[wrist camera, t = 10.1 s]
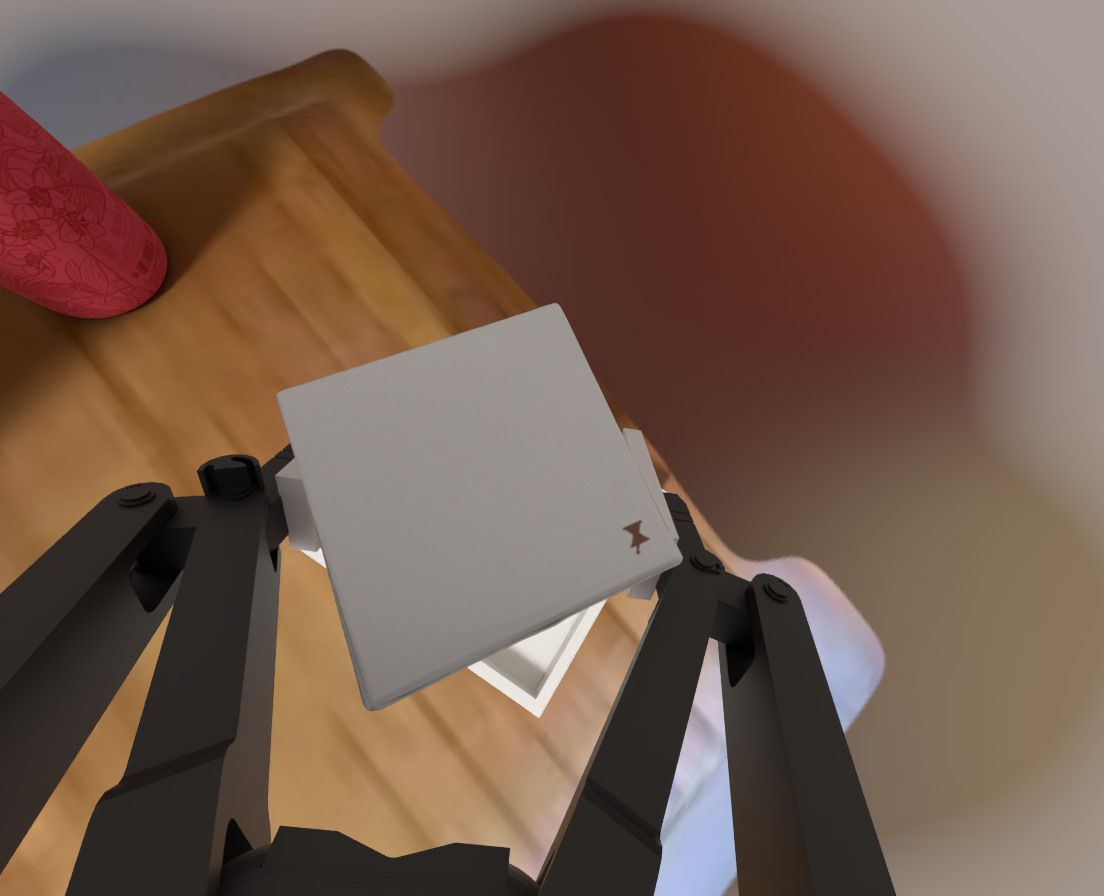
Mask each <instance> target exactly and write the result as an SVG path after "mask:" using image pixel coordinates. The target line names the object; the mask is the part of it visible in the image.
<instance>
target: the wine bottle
mask: <svg viewBox="0 0 1104 896" xmlns="http://www.w3.org/2000/svg"><path fill="white" fill-rule="evenodd" d="M167 263H168V262H167V255H166V251H165V247H164V245H163V243H162V241H161V240H160V238H159V237H158V236H157V234H156V233H155V232H154V231H153V230H152V229H151V227H150V226H149V225H148V224H147V223H146V222H145V221H144V220H143V219H142V218H141V217H140V216H139V215H137V214H136V213H135V212H134V211H133V210H132V209H131V208H130V207H129V206H128V205H127V204H126V203H125V202H124V201H123V200H122V199H121V198H120V197H118V196H117V195H116V194H115V193H114V192H113V191H112V190H111V189H110V188H109V187H108V186H107V185H106V184H104V183H103V182H102V181H101V180H100V179H99V178H98V177H97V176H96V175H95V174H94V173H93V172H91V171H90V170H89V169H88V168H87V167H86V166H85V165H84V164H83V163H82V162H81V161H79V160H78V159H77V158H76V157H75V156H74V155H73V154H72V153H71V152H70V151H68V150H67V149H66V148H65V147H64V146H63V145H62V144H61V143H60V142H58V141H57V140H56V139H55V138H54V137H53V136H52V135H51V134H49V133H48V132H47V131H46V130H45V129H44V128H43V127H42V126H40V125H39V124H38V123H37V122H36V121H35V120H34V119H32V118H31V117H30V116H29V115H28V114H27V113H26V112H24V111H23V110H22V109H21V108H20V107H19V106H17V105H16V104H15V103H14V102H13V101H12V100H10V99H9V98H8V97H7V96H6V95H4V94H3V93H2V92H1V91H0V286H2V287H4V288H6V289H8V290H10V291H12V292H14V293H16V294H18V295H20V296H22V297H25V298H27V299H29V300H31V301H33V302H35V303H38V304H40V305H42V306H44V307H47V308H49V309H51V310H54V311H56V312H59V313H62V314H65V315H69V316H73V317H78V318H106V317H112V316H116V315H120V314H123V313H126V312H128V311H130V310H133V309H135V308H136V307H138V306H140V305H141V304H143V303H144V302H146V301H147V300H148V299H149V298H150V297H152V296H153V294H154V293H155V292H156V291H157V290H158V289H159V287H160V286H161V284H162V282H163V280H164V278H165V275H166V271H167Z"/></svg>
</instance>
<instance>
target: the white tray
mask: <svg viewBox="0 0 1104 896" xmlns="http://www.w3.org/2000/svg"><path fill="white" fill-rule="evenodd" d="M662 492H666V491H664V490H663V489H662ZM666 493H667V492H666ZM301 551H302V552H304V553H305V554H307V555H308V556H310V557H311V558H312V559H314V560H315V561H317V562H318V563H320V564H321V565H322V566H324V567H325V568H326V564H325V560H324V557H323V553H322V549H321V547H320V548H319V550H318V551H317V552H312V551H305V550H301ZM606 600H607V599H606ZM606 600H604V601H601V602H599V603H597V604H595V605H593V606H591V607H589V608H587V609H585V610H583V611H581V612H579V613H577V614H575V615H573V616H571V617H569V618H567V619H566V620H564V621H562V622H561V623H559V624H558V625H556V626H554V627H552V628H550V629H547V630H545V631H543V632H541V633H539V634H536V635H534V636H532V637H529V638H527V639H524V640H522V641H520V642H518V643H516V644H514V645H512V646H510V647H508V648H506V649H504V650H502V651H500V652H498V653H496V654H494V655H491V656H489V657H487V658H485V659H483V660H481V661H479V662H477V663H475V664H473V665H471V666H469V667H467V668H469V669H470V670H472V671H473V672H474V673H476V674H477V675H479V676H480V677H482V678H483V679H484V680H486V681H487V682H489V683H490V684H492V685H493V686H494V687H496V688H497V689H499V690H500V691H501V692H503V693H504V694H506V695H507V696H509V697H510V698H511V699H513V700H514V701H516V702H517V703H519V704H520V705H521V706H523V707H524V708H526V709H527V710H528V711H530V712H531V713H533V714H534V715H536V716H537V717H538V718H539V717H540V716H541V714H542V712H543V710H544V709H545V707H546V705H547V703H548V702H549V700H550V698H551V696H552V695H553V693H554V691H555V689H556V688H557V686H558V684H559V682H560V681H561V679H562V677H563V675H564V674H565V672H566V670H567V668H568V667H569V665H570V663H571V661H572V660H573V658H574V656H575V654H576V653H577V651H578V649H579V647H580V646H581V644H582V642H583V640H584V639H585V637H586V635H587V633H588V631H589V630H590V628H591V626H592V624H593V623H594V621H595V619H596V617H597V616H598V614H599V612H600V610H601V609H602V607H603V605H604V603H605V602H606Z"/></svg>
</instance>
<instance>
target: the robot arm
mask: <svg viewBox="0 0 1104 896" xmlns="http://www.w3.org/2000/svg"><path fill="white" fill-rule="evenodd" d="M622 435H623V437H624V440H625V442H626V444H627V446H628V448H629V451H630V453H631V455H632V457H633V459H634V461H635V463H636V465H637V467H638V469H639V471H640V473H641V475H642V477H643V479H644V481H645V483H646V485H647V487H648V489H649V491H650V493H651V495H652V497H653V499H654V501H655V503H656V505H657V507H658V509H659V511H660V513H661V515H662V517H663V519H664V521H665V523H666V525H667V527H668V529H669V531H670V533H671V535H672V537H673V539H674V541H675V543H676V545H677V547H678V548H679V550H680V552H681V554H682V556H683V559H682V562H681V563H680V564H679V565H677V566H675V567H673V568H671V569H668V570H666V571H664V572H662V573H660V574H657V575H655V576H653V577H651V578H649V579H647V580H645V581H643V582H641V583H639V584H637V585H635V586H633V587H631V588H629V589H627V590H626V591H627V597H632V598H639V599H646V600H651V598H652V596H653V593H654V591H655V589H656V590H657V594H658V598H659V600H658V602H657V604H656V606H655V609H654V611H653V613H652V615H651V617H650V619H649V621H648V625H647V627H646V630H645V632H644V634H643V636H642V639H641V641H640V643H639V646H638V648H637V650H636V653H635V655H634V657H633V660H632V662H631V664H630V667H629V669H628V671H627V674H626V676H625V678H624V680H623V683H622V685H621V687H620V690H619V692H618V694H617V697H616V699H615V701H614V704H613V706H612V708H611V711H610V713H609V715H608V718H607V720H606V722H605V724H604V727H603V729H602V731H601V734H600V736H599V738H598V741H597V743H596V745H595V748H594V750H593V752H592V755H591V757H590V759H589V761H588V764H587V766H586V768H585V771H584V773H583V775H582V778H581V780H580V782H579V785H578V787H577V789H576V792H575V794H574V796H573V799H572V801H571V803H570V805H569V808H568V810H567V812H566V815H565V817H564V819H563V822H562V824H561V826H560V829H559V831H558V833H557V835H556V838H555V840H554V842H553V844H552V846H551V848H550V851H549V853H548V855H547V857H546V859H545V862H544V864H543V866H542V868H541V871H540V873H539V875H538V877H537V880H536V882H535V881H534V880H533V879H532V878H531V877H530V876H528V875H527V874H526V873H524V872H523V871H522V870H520V869H519V868H517V867H515V866H513V865H511V864H509V854H510V848H505V847H495V846H484V845H474V844H464V843H452V844H448V845H444V846H440V847H437V848H433V849H429V850H425V851H421V852H417V853H413V854H409V855H405V856H401V857H397V858H390V857H387V856H385V855H383V854H381V853H379V852H377V851H375V850H373V849H371V848H369V847H367V846H366V845H364V844H362V843H360V842H358V841H356V840H354V839H352V838H350V837H348V836H346V835H344V834H342V833H340V832H338V831H330V830H319V829H309V828H299V827H288V826H280V827H279V829H278V832H277V834H276V836H275V838H274V840H273V842H272V843H271V833H270V821H269V813H268V783H269V765H270V747H271V729H272V711H273V693H274V675H275V657H276V639H277V621H278V603H279V585H280V567H281V551H280V547H279V544H280V543H281V542H282V541H283V540H284V539H285V537H286V536H287V535H288V537H289V541H290V546H291V549H298V550H305V551H312V552H317V551H318V550H319V548H320V547H321V545H320V542H319V538H318V534H317V530H316V527H315V523H314V519H313V515H312V512H311V509H310V505H309V502H308V499H307V496H306V492H305V489H304V485H303V482H302V479H301V476H300V472H299V469H298V466H297V463H296V459H295V456H294V453H293V449H292V446H291V443H290V444H289V445H287V446H286V447H285V448H284V449H283V451H280V452H279V453H278V454H277V455H275V457H274V458H272V459H271V460H269V461H268V462H267V463H266V464H265V465H263V466H262V467H261V468H260V465H259V461H258V460H257V459H256V458H254V457H253V456H248V455H227V456H221V457H218V458H215V459H212V460H209V461H208V462H206V463H204V464H203V465H201V466H200V468H199V469H198V470H197V473H198V476H199V479H200V482H201V485H202V488H203V491H204V494H205V496H188V497H174V496H173V493H172V491H171V488H170V486H168V485H165V484H163V483H155V482H149V483H139V484H134V485H130V486H126V487H124V488H121V489H119V490H116V491H114V492H112V493H111V494H109V495H108V496H106V497H105V498H104V499H103V500H101V501H100V502H99V503H98V504H97V505H96V506H95V507H94V508H93V509H92V510H91V511H90V512H88V513H87V514H86V515H85V516H84V517H83V518H82V519H81V520H80V521H79V522H78V523H77V524H75V525H74V526H73V527H72V528H71V529H70V530H69V531H68V532H67V533H66V534H65V535H64V536H62V537H61V538H60V539H59V540H58V541H57V542H56V543H55V544H54V545H53V546H52V547H51V548H50V549H48V550H47V551H46V552H45V553H44V554H43V555H42V556H41V557H40V558H39V559H38V560H37V561H35V562H34V563H33V564H32V565H31V566H30V567H29V568H28V569H27V570H26V571H25V572H24V573H22V574H21V575H20V576H19V577H18V578H17V579H16V580H15V581H14V582H13V583H12V584H11V585H9V586H8V587H7V588H6V589H5V590H4V591H3V592H2V593H1V594H0V875H1V873H2V871H3V870H4V868H5V867H6V865H7V864H8V862H9V860H10V859H11V857H12V856H13V854H14V853H15V851H16V849H17V848H18V846H19V845H20V843H21V842H22V840H23V839H24V837H25V835H26V834H27V832H28V831H29V829H30V828H31V826H32V824H33V823H34V821H35V820H36V818H37V817H38V815H39V813H40V812H41V810H42V809H43V807H44V806H45V804H46V803H47V801H48V799H49V798H50V796H51V795H52V793H53V792H54V790H55V788H56V787H57V785H58V784H59V782H60V781H61V779H62V777H63V776H64V774H65V773H66V771H67V770H68V768H69V766H70V765H71V763H72V762H73V760H74V759H75V757H76V756H77V754H78V752H79V751H80V749H81V748H82V746H83V745H84V743H85V741H86V740H87V738H88V737H89V735H90V734H91V732H92V730H93V729H94V727H95V726H96V724H97V723H98V721H99V720H100V718H101V716H102V715H103V713H104V712H105V710H106V709H107V707H108V705H109V704H110V702H111V701H112V699H113V698H114V696H115V694H116V693H117V691H118V690H119V688H120V687H121V685H122V684H123V682H124V680H125V679H126V677H127V676H128V674H129V673H130V671H131V669H132V668H133V666H134V665H135V663H136V662H137V660H138V658H139V657H140V655H141V654H142V652H143V651H144V649H145V648H146V646H147V644H148V643H149V641H150V640H151V638H152V637H153V635H154V633H155V632H156V630H157V629H158V627H159V626H160V624H161V622H162V621H163V619H164V618H165V616H166V615H167V613H168V611H169V610H170V608H171V607H172V605H173V604H174V606H173V609H172V613H171V616H170V619H169V623H168V626H167V630H166V633H165V637H164V640H163V644H162V647H161V650H160V654H159V657H158V661H157V664H156V668H155V671H154V674H153V678H152V681H151V685H150V688H149V692H148V695H147V698H146V702H145V705H144V709H143V712H142V716H141V719H140V723H139V726H138V729H137V733H136V736H135V740H134V743H133V747H132V750H131V753H130V757H129V760H128V764H127V767H126V770H125V773H124V775H123V778H122V779H121V781H120V782H119V784H118V785H116V786H114V787H113V788H111V789H109V790H107V791H106V792H105V793H104V794H103V795H102V797H101V798H100V800H99V801H98V803H97V804H96V806H95V809H94V811H93V813H92V816H91V818H90V821H89V823H88V826H87V829H86V832H85V836H84V839H83V842H82V845H81V848H80V851H79V854H78V857H77V860H76V863H75V866H74V870H73V873H72V876H71V879H70V882H69V885H68V888H67V891H66V894H65V896H654V891H655V887H656V883H657V879H658V874H659V869H660V864H661V859H662V844H661V841H660V832H661V828H662V823H663V819H664V815H665V811H666V807H667V803H668V799H669V795H670V791H671V787H672V783H673V779H674V775H675V771H676V767H677V763H678V759H679V755H680V751H681V747H682V743H683V739H684V735H685V731H686V728H687V724H688V720H689V716H690V712H691V708H692V704H693V700H694V696H695V692H696V688H697V684H698V680H699V676H700V672H701V668H702V664H703V660H704V656H705V652H706V648H707V644H708V640H709V637H710V638H712V639H715V640H717V641H718V649H719V661H720V673H721V685H722V697H723V709H724V721H725V733H726V745H727V757H728V769H729V781H730V793H731V805H732V817H733V829H734V841H735V853H736V865H737V877H738V888H739V896H896V893H895V890H894V887H893V884H892V881H891V878H890V875H889V872H888V869H887V865H886V862H885V859H884V856H883V853H882V850H881V847H880V844H879V841H878V838H877V835H876V832H875V829H874V825H873V822H872V819H871V816H870V813H869V810H868V807H867V804H866V801H865V798H864V794H863V792H862V788H861V785H860V782H859V779H858V776H857V773H856V770H855V767H854V763H853V760H852V757H851V754H850V751H849V748H848V745H847V742H846V739H845V736H844V733H843V729H842V726H841V723H840V720H839V717H838V714H837V711H836V708H835V705H834V702H833V698H832V695H831V692H830V689H829V686H828V683H827V680H826V677H825V674H824V671H823V668H822V664H821V661H820V658H819V655H818V652H817V649H816V646H815V643H814V640H813V637H812V634H811V630H810V627H809V624H808V621H807V618H806V615H805V612H804V609H803V606H802V603H801V600H800V598H799V596H798V594H797V592H796V591H795V590H794V589H793V588H792V587H791V586H790V585H789V584H787V583H786V582H785V581H783V580H782V579H780V578H778V577H775V576H773V575H770V574H765V573H763V574H757V575H756V576H755V577H754V578H753V579H752V581H751V582H750V581H747V580H745V579H742V578H740V577H737V576H735V575H732V574H730V573H728V572H726V571H725V568H724V566H723V564H722V562H721V561H720V560H719V559H718V558H717V557H716V556H715V555H714V554H712V553H710V552H709V551H707V550H705V548H704V546H703V543H702V541H701V538H700V536H699V534H698V531H697V529H696V527H695V524H693V519H692V517H691V516H690V512H689V510H688V508H687V505H686V503H685V502H684V501H683V500H682V499H681V498H680V497H679V496H678V495H677V494H672V493H666V492H662V489H661V486H660V483H659V481H658V478H657V475H656V472H655V469H654V467H653V464H652V461H651V458H650V455H649V452H648V450H647V447H646V444H645V441H644V438H643V436H642V433H641V431H639V430H633V429H627V428H624V429H623V432H622Z"/></svg>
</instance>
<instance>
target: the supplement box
mask: <svg viewBox="0 0 1104 896" xmlns="http://www.w3.org/2000/svg"><path fill="white" fill-rule="evenodd" d="M276 398H277V401H278V404H279V406H280V410H281V413H282V416H283V420H284V423H285V427H286V430H287V433H288V436H289V440H290V443H291V446H292V449H293V453H294V456H295V459H296V463H297V466H298V469H299V472H300V476H301V479H302V482H303V485H304V489H305V492H306V496H307V499H308V502H309V505H310V509H311V512H312V515H313V519H314V523H315V527H316V530H317V534H318V538H319V542H320V545H321V549H322V553H323V557H324V560H325V564H326V568H327V571H328V575H329V578H330V582H331V586H332V590H333V593H334V597H335V601H336V604H337V608H338V612H339V616H340V620H341V623H342V627H343V631H344V635H345V638H346V642H347V645H348V649H349V652H350V656H351V660H352V663H353V667H354V671H355V675H356V678H357V682H358V686H359V690H360V694H361V698H362V702H363V704H364V706H365V708H366V709H367V710H370V711H374V710H379V709H383V708H385V707H388V706H390V705H392V704H394V703H396V702H398V701H399V700H402V699H404V698H406V697H408V696H410V695H412V694H414V693H417V692H419V691H421V690H423V689H425V688H427V687H429V686H431V685H432V684H434V683H436V682H438V681H440V680H442V679H444V678H446V677H448V676H451V675H453V674H455V673H457V672H459V671H461V670H463V669H465V668H467V667H469V666H471V665H473V664H475V663H477V662H479V661H481V660H483V659H485V658H487V657H489V656H491V655H494V654H496V653H498V652H500V651H502V650H504V649H506V648H508V647H510V646H512V645H514V644H516V643H518V642H520V641H522V640H524V639H527V638H529V637H532V636H534V635H536V634H539V633H541V632H543V631H545V630H547V629H550V628H552V627H554V626H556V625H558V624H559V623H561V622H562V621H564V620H566V619H567V618H569V617H571V616H573V615H575V614H577V613H579V612H581V611H583V610H585V609H587V608H589V607H591V606H593V605H595V604H597V603H599V602H601V601H604V600H606V599H608V598H610V597H612V596H614V595H616V594H618V593H620V592H622V591H624V590H627V589H629V588H631V587H633V586H635V585H637V584H639V583H641V582H643V581H645V580H647V579H649V578H651V577H653V576H655V575H657V574H660V573H662V572H664V571H666V570H668V569H671V568H673V567H675V566H677V565H679V564H680V563H681V562H682V559H683V556H682V554H681V552H680V550H679V548H678V547H677V545H676V543H675V541H674V539H673V537H672V535H671V533H670V531H669V529H668V527H667V525H666V523H665V521H664V519H663V517H662V515H661V513H660V511H659V509H658V507H657V505H656V503H655V501H654V499H653V497H652V495H651V493H650V491H649V489H648V487H647V485H646V483H645V481H644V479H643V477H642V475H641V473H640V471H639V469H638V467H637V465H636V463H635V461H634V459H633V457H632V455H631V453H630V451H629V448H628V446H627V444H626V442H625V440H624V437H623V435H622V433H621V431H620V429H619V427H618V425H617V423H616V421H615V419H614V417H613V415H612V413H611V410H610V408H609V406H608V404H607V402H606V400H605V398H604V396H603V393H602V391H601V389H600V387H599V385H598V383H597V381H596V379H595V377H594V375H593V373H592V371H591V369H590V366H589V364H588V362H587V360H586V358H585V356H584V354H583V352H582V349H581V347H580V346H579V344H578V341H577V339H576V337H575V335H574V333H573V331H572V329H571V327H570V324H569V322H568V320H567V318H566V317H565V315H564V313H563V311H562V309H561V307H560V306H559V305H558V304H556V303H553V304H550V305H546V306H543V307H540V308H537V309H534V310H532V311H528V312H525V313H522V314H519V315H516V316H513V317H510V318H507V319H504V320H501V321H498V322H495V323H491V324H488V325H485V326H482V327H479V328H476V329H472V330H469V331H466V332H463V333H460V334H457V335H454V336H451V337H448V338H445V339H442V340H439V341H435V342H432V343H429V344H426V345H423V346H420V347H417V348H414V349H411V350H408V351H405V352H402V353H398V354H395V355H392V356H389V357H386V358H383V359H380V360H377V361H374V362H370V363H367V364H364V365H361V366H358V367H355V368H352V369H348V370H345V371H342V372H339V373H336V374H333V375H329V376H326V377H323V378H320V379H317V380H314V381H311V382H308V383H305V384H302V385H299V386H295V387H292V388H289V389H285V390H282V391H280V392H278V393H277V395H276Z"/></svg>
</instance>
